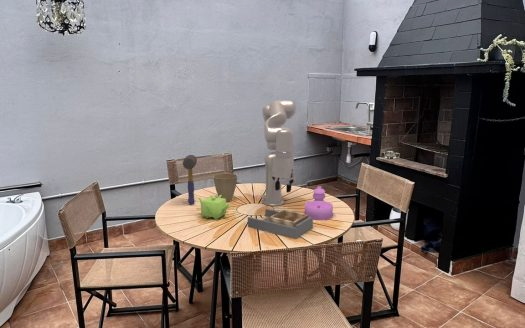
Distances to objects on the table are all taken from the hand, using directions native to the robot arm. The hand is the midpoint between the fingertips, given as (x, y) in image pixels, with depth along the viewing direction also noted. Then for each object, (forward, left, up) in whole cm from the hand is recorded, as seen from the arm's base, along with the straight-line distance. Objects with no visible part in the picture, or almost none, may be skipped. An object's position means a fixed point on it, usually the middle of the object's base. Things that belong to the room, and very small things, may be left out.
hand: (283, 190), depth 186 cm
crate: (+4, 0, -18) cm, 19 cm away
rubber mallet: (-67, +3, -20) cm, 69 cm away
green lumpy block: (-41, -6, -20) cm, 45 cm away
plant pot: (-55, +21, -20) cm, 62 cm away
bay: (-2, 0, -20) cm, 20 cm away
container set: (+4, +33, -20) cm, 38 cm away
